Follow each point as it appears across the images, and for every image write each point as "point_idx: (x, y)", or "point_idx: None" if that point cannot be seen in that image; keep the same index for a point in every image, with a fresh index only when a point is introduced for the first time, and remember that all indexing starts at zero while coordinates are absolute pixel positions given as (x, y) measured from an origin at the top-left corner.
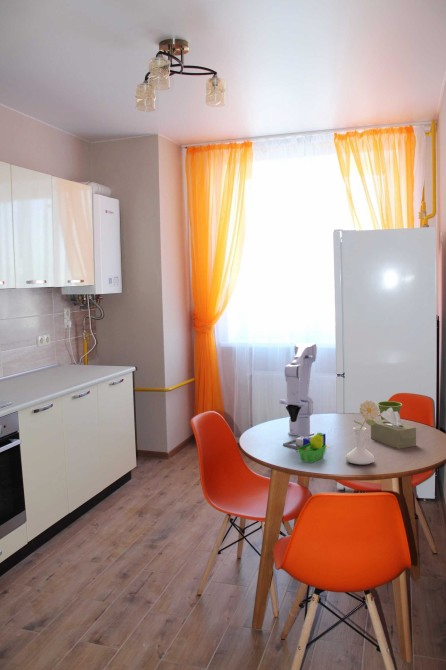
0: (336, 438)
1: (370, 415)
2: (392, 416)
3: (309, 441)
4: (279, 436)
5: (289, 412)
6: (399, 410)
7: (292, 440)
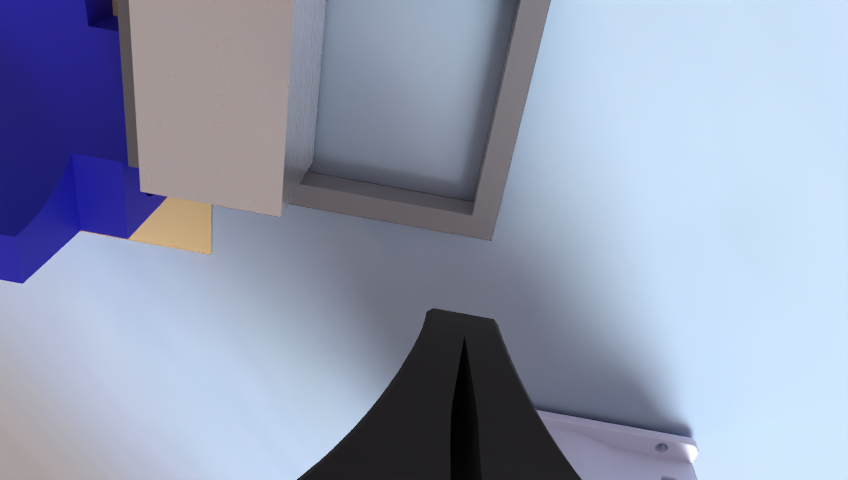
0: (176, 476)
1: None
2: None
3: None
4: (772, 328)
5: (533, 471)
6: None
7: (499, 181)
